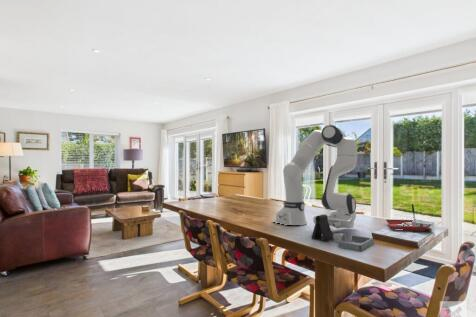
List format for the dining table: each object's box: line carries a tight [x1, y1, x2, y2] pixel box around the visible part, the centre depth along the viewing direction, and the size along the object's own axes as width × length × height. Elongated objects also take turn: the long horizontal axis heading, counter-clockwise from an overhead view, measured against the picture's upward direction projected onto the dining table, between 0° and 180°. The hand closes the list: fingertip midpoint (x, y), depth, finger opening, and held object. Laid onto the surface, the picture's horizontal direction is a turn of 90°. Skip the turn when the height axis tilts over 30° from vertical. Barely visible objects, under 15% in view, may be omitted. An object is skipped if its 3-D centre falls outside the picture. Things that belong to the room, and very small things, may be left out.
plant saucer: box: [385, 219, 429, 232], centre depth 155 cm, size 18×18×3 cm
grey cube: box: [332, 232, 346, 244], centre depth 131 cm, size 4×4×4 cm
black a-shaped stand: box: [311, 213, 334, 243], centre depth 137 cm, size 9×6×12 cm, turn 38°
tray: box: [337, 234, 375, 252], centre depth 125 cm, size 10×15×2 cm
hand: (325, 223), depth 140 cm, fingers open, 8 cm apart
